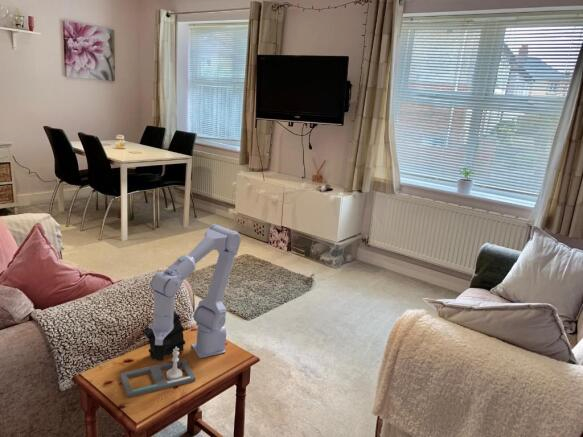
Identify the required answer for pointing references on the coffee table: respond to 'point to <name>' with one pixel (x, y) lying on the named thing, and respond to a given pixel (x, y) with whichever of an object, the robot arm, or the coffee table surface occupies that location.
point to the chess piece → (174, 367)
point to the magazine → (175, 337)
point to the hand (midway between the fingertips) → (161, 352)
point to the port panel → (156, 378)
